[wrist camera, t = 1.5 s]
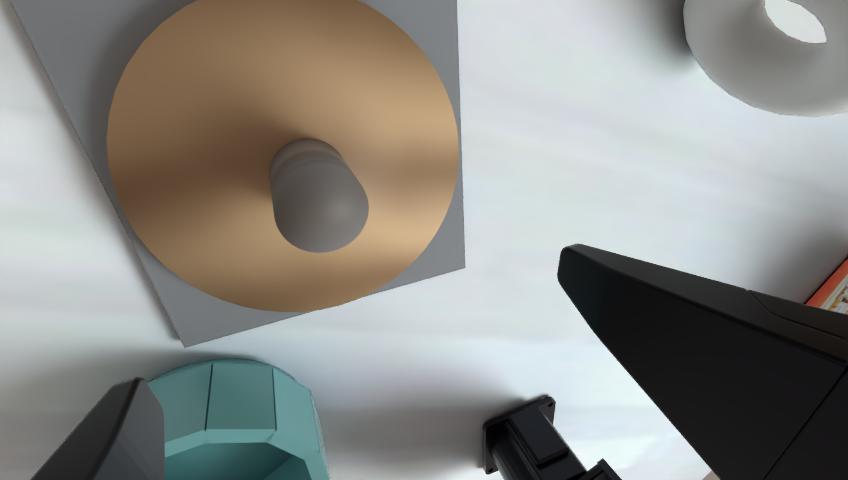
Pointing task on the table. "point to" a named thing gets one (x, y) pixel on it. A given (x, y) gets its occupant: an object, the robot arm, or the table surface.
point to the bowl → (239, 423)
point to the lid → (282, 150)
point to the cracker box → (833, 292)
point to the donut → (771, 55)
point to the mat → (92, 98)
